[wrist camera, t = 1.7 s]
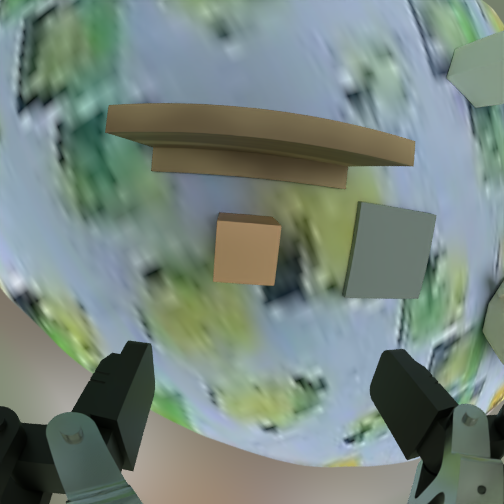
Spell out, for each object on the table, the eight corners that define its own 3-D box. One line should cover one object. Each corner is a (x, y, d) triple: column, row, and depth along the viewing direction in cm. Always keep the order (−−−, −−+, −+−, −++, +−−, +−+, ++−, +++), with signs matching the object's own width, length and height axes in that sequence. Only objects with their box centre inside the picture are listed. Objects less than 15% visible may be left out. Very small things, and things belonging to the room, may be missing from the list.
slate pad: (358, 201, 28) (361, 202, 27) (432, 214, 29) (436, 215, 28) (342, 294, 31) (345, 297, 30) (414, 296, 32) (418, 298, 31)
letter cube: (219, 212, 28) (217, 220, 23) (272, 216, 28) (281, 226, 23) (215, 265, 29) (213, 284, 24) (266, 269, 29) (273, 288, 25)
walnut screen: (160, 109, 24) (114, 70, 13) (347, 129, 26) (416, 108, 15) (153, 171, 26) (101, 171, 14) (341, 188, 28) (409, 201, 16)
